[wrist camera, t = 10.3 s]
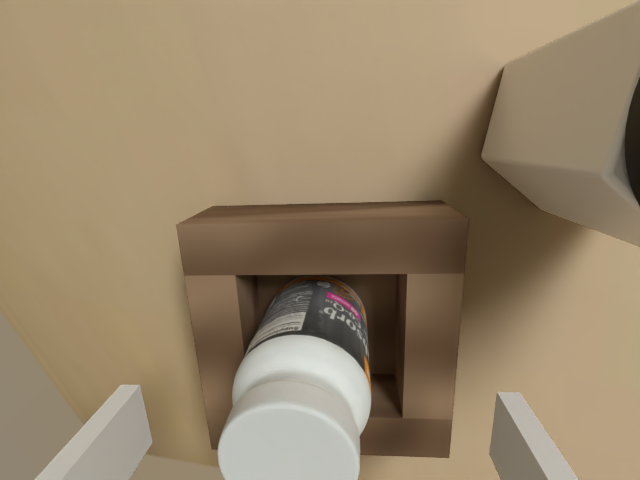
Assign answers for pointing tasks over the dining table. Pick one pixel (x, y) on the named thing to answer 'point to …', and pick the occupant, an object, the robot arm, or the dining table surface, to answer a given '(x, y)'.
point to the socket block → (360, 275)
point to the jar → (575, 125)
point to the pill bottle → (301, 388)
